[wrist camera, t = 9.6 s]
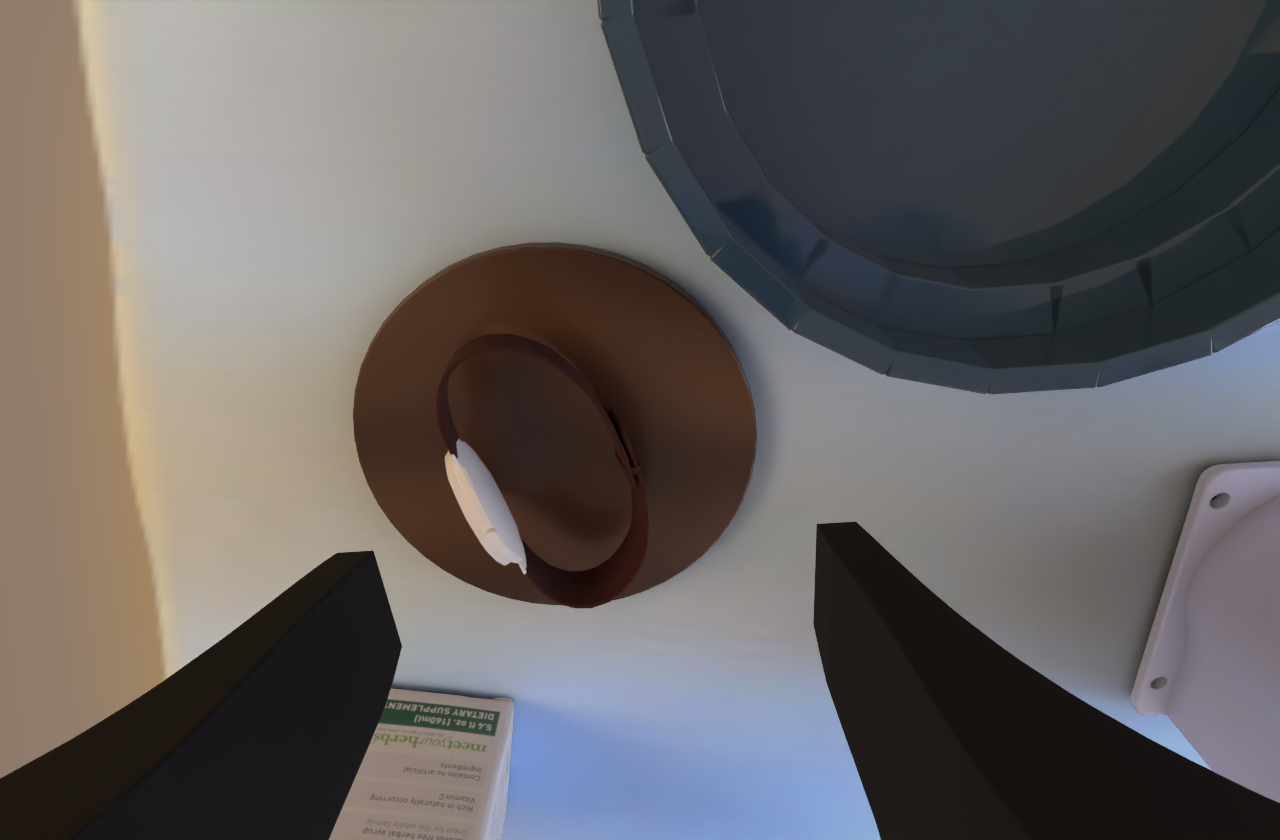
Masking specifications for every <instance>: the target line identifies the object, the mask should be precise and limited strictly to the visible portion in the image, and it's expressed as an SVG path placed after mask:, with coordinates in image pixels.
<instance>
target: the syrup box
mask: <svg viewBox="0 0 1280 840" xmlns="http://www.w3.org/2000/svg"><path fill="white" fill-rule="evenodd" d="M513 720H514V705H513V700H512V699H509V698H500V697H498V698H493V699H482V698H471V697H466V696H459V695H451V694H441V693H431V692H421V691H412V690H402V689H392V688H391V689H390V692H389V696H388V699H387V703H386V706H385V708H384V710H383V713H382V715H381V718H380V720H379V723H378V725H377V728H376V730H375V732H374V735H373V737H372V740H371V742H370V744H369V747H368V749H367V752H366V754H365V756H364V759H363V761H362V763H361V765H360V768H359V770H358V772H357V775H356V777H355V779H354V782H353V784H352V786H351V789H350V791H349V793H348V796H347V798H346V800H345V803H344V805H343V807H342V810H341V812H340V814H339V817H338V819H337V821H336V824H335V826H334V829H333V831H332V833H331V836H330V838H329V840H501V835H502V829H503V824H504V819H505V813H506V807H507V796H508V784H509V771H510V758H511V746H512V733H513Z"/></svg>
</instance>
